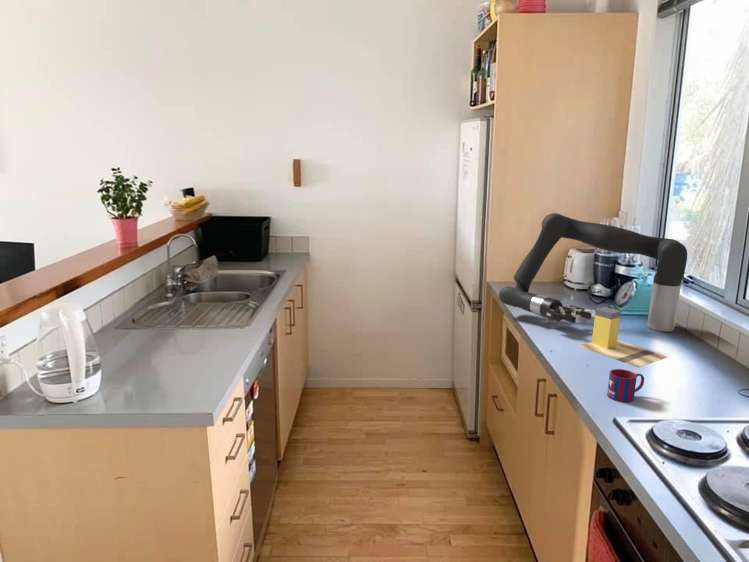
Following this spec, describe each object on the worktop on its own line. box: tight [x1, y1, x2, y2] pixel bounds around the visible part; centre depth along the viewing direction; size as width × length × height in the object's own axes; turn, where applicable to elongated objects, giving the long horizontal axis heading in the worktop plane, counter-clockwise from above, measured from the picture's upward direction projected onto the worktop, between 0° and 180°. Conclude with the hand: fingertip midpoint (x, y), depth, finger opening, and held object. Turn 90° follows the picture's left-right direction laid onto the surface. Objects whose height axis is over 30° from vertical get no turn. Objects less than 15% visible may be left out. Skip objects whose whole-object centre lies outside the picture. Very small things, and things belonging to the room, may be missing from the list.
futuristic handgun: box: [546, 308, 595, 324], centre depth 229 cm, size 3×20×15 cm
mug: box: [606, 368, 645, 403], centre depth 159 cm, size 7×10×7 cm
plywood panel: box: [577, 339, 669, 368], centre depth 191 cm, size 17×22×1 cm
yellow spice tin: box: [591, 306, 622, 349], centre depth 196 cm, size 5×6×12 cm
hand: (583, 318), depth 203 cm, fingers open, 8 cm apart
